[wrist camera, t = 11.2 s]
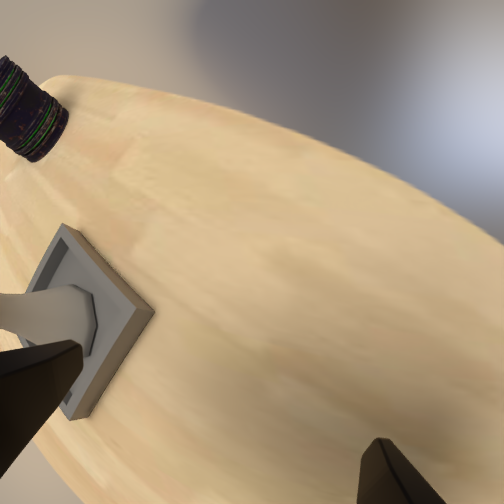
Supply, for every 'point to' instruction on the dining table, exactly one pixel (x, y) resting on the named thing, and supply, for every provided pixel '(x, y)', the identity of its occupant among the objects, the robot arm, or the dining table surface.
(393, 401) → the dining table surface
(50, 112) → the storage jar
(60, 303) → the flask
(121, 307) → the tray
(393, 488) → the robot arm
